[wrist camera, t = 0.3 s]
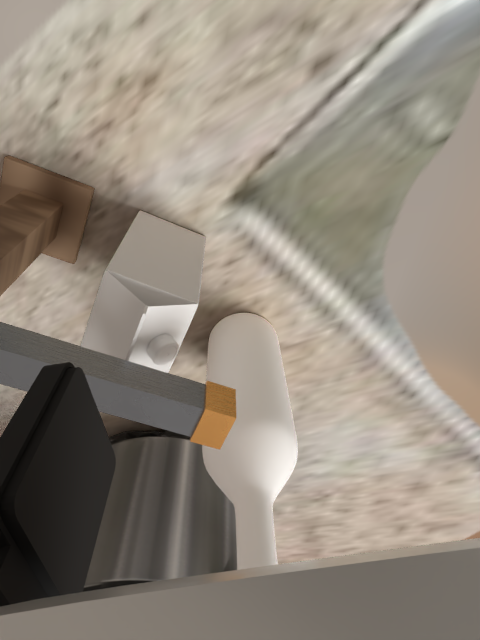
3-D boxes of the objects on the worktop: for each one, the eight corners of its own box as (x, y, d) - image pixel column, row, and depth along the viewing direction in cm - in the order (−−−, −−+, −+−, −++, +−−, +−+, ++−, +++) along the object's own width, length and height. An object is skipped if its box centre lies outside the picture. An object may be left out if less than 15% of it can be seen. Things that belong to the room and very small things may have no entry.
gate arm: (-119, 331, 27) (-155, 359, 25) (-117, 267, 25) (-156, 291, 23) (216, 426, 32) (215, 459, 29) (240, 379, 30) (241, 409, 27)
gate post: (-4, 232, 46) (-149, 342, 28) (8, 155, 42) (-149, 224, 25) (76, 260, 48) (-13, 380, 30) (94, 188, 44) (6, 275, 26)
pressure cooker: (93, 562, 73) (13, 868, 45) (28, 430, 59) (-144, 757, 31) (281, 541, 72) (316, 843, 44) (260, 401, 58) (293, 715, 30)
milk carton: (118, 270, 48) (63, 379, 32) (139, 208, 45) (90, 294, 29) (182, 293, 50) (161, 409, 33) (206, 236, 47) (196, 332, 30)
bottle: (287, 320, 52) (349, 583, 26) (266, 376, 56) (302, 655, 30) (217, 304, 51) (210, 564, 25) (201, 362, 54) (179, 641, 28)
